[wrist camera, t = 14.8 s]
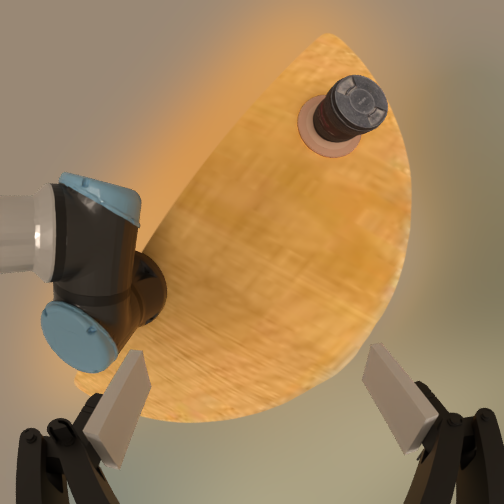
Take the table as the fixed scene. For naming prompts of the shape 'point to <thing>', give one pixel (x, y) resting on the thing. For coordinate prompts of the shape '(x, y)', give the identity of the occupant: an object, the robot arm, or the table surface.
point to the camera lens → (350, 109)
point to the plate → (314, 139)
